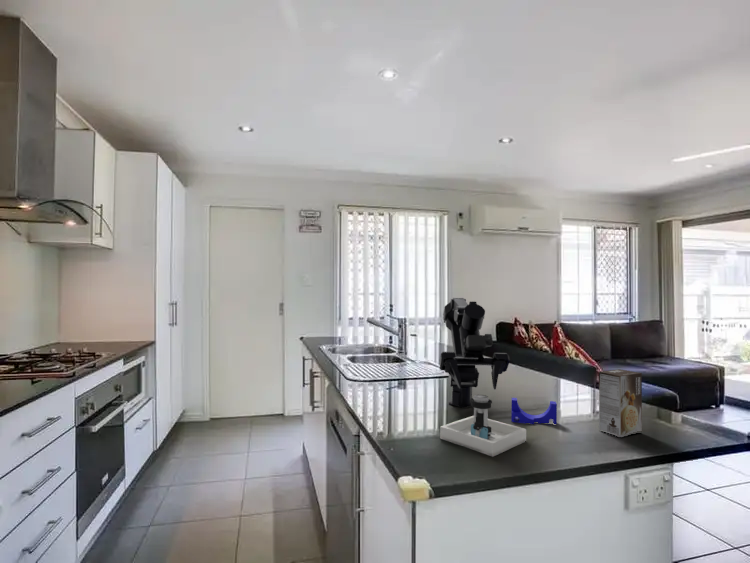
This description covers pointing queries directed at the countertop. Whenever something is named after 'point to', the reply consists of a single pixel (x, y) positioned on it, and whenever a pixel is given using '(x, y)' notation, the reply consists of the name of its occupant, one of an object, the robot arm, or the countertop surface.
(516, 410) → the blue u-shaped cradle
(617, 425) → the coffee box
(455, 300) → the robot arm
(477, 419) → the push button
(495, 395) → the countertop surface
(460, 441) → the tray
